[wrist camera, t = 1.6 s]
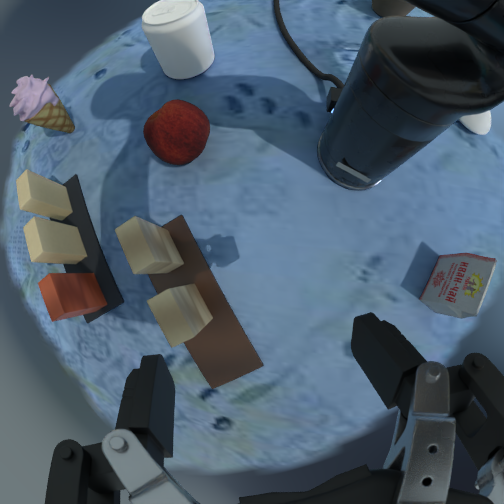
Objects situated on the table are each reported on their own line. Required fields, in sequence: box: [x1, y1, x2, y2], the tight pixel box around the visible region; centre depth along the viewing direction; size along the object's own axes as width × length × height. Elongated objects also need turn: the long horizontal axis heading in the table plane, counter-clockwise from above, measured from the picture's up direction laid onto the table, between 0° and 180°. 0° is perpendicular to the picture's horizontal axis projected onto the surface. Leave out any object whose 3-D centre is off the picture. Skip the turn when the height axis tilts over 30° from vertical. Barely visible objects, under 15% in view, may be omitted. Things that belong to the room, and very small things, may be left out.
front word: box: [115, 215, 264, 389], centre depth 26 cm, size 20×7×9 cm, turn 29°
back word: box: [16, 169, 124, 323], centre depth 27 cm, size 20×7×9 cm, turn 29°
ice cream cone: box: [10, 75, 75, 133], centre depth 26 cm, size 7×6×15 cm
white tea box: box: [419, 253, 497, 319], centre depth 25 cm, size 4×7×10 cm, turn 147°
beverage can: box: [142, 0, 214, 79], centre depth 27 cm, size 8×8×12 cm
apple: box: [143, 100, 210, 165], centre depth 28 cm, size 7×8×8 cm
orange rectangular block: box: [38, 273, 107, 322], centre depth 26 cm, size 4×2×9 cm, turn 28°
